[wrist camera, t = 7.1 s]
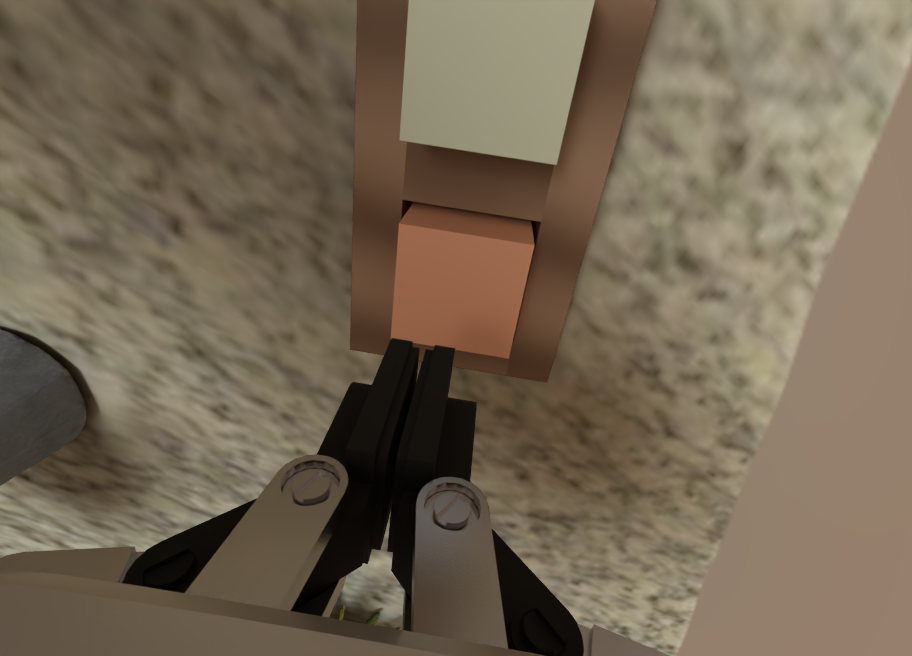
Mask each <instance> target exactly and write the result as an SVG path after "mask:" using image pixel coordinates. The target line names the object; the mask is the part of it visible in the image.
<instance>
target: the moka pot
mask: <svg viewBox="0 0 912 656" xmlns="http://www.w3.org/2000/svg"><path fill="white" fill-rule="evenodd" d="M86 418H87V413H86V406H85V402H84V398H83V396H82V395H81V393H80V391H79V389H78V386H77V385H76V383H75V381H74V380H73V379H72V377H71V374H70V373H69V372H68V370H67V369H66V368H63V366H62V365H61V364H60V363H59V362H57V361H56V360H55V359H53V358H52V357H51V356H50V355H49V354H48V353H46V352H44V351H43V350H41V349H40V348H38V347H37V346H35V345H32V344H30V343H29V342H27V341H25V340H24V339H22V338H20V337H18V336H17V335H15V334H12V333H10V332H7V331H4V330H0V486H1V485H2V484H4V483H5V482H7V481H9V480H10V479H12V478H13V477H15V476H16V475H18V474H20V473H21V472H23V471H24V470H26V469H28V468H29V467H31V466H33V465H34V464H36V463H37V462H39V461H41V460H42V459H44V458H46V457H47V456H49V455H50V454H52V453H53V452H55V451H57V450H58V449H60V448H61V447H63V446H65V445H66V444H68V443H69V442H71V441H73V440H74V439H76V438H77V437H78V436H79V435H80V433H81V432H82V430H83V428H84V427H85V424H86Z"/></svg>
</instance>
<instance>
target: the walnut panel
mask: <svg viewBox="0 0 912 656" xmlns="http://www.w3.org/2000/svg"><path fill="white" fill-rule="evenodd" d="M656 2H657V0H595V2H594V6H593V10H592V15H591V19H590V23H589V28H588V32H587V36H586V41H585V45H584V49H583V54H582V58H581V62H580V66H579V71H578V75H577V79H576V84H575V88H574V92H573V97H572V101H571V105H570V110H569V114H568V118H567V122H566V127H565V131H564V135H563V140H562V144H561V148H560V153H559V157H558V161H557V165H553V164H547V163H541V162H534V161H528V160H522V159H515V158H509V157H502V156H496V155H490V154H483V153H477V152H471V151H464V150H458V149H452V148H445V147H439V146H432V145H426V144H420V143H413V142H407V141H401V140H400V125H401V109H402V94H403V79H404V64H405V49H406V34H407V19H408V4H409V0H357V43H356V91H355V139H354V188H353V236H352V284H351V332H350V350H355V351H361V352H367V353H373V354H379V355H385V352H386V350H387V347H388V345H389V342H390V340H391V327H392V313H393V299H394V285H395V271H396V257H397V243H398V230H399V223H400V221H401V220H402V218H403V217H404V215H405V214H406V212H407V211H408V210H409V208H410V207H411V205H412V201H414V202H420V203H426V204H433V205H439V206H445V207H451V208H458V209H464V210H470V211H477V212H483V213H489V214H495V215H502V216H508V217H514V218H520V219H527V220H533V221H534V225H533V229H532V231H533V238H534V245H535V246H534V250H533V254H532V259H531V263H530V267H529V272H528V276H527V281H526V285H525V289H524V294H523V298H522V303H521V307H520V311H519V316H518V320H517V324H516V329H515V333H514V338H513V342H512V346H511V351H510V355H509V359H508V358H502V357H496V356H490V355H484V354H478V353H472V352H466V351H460V350H455V354H454V360H453V366H452V367H458V368H464V369H470V370H476V371H482V372H488V373H494V374H500V375H506V376H512V377H518V378H524V379H530V380H536V381H542V382H547V381H548V378H549V374H550V371H551V367H552V364H553V360H554V357H555V354H556V350H557V347H558V343H559V340H560V336H561V333H562V329H563V326H564V322H565V319H566V315H567V312H568V308H569V305H570V301H571V298H572V294H573V291H574V287H575V284H576V280H577V277H578V274H579V270H580V267H581V263H582V260H583V256H584V253H585V249H586V246H587V242H588V239H589V235H590V232H591V228H592V225H593V221H594V218H595V214H596V211H597V207H598V204H599V200H600V197H601V194H602V190H603V187H604V183H605V180H606V176H607V173H608V169H609V166H610V162H611V159H612V155H613V152H614V148H615V145H616V141H617V138H618V134H619V131H620V127H621V124H622V120H623V117H624V114H625V110H626V107H627V103H628V100H629V96H630V93H631V89H632V86H633V82H634V79H635V75H636V72H637V68H638V65H639V61H640V58H641V54H642V51H643V47H644V44H645V40H646V37H647V34H648V30H649V27H650V23H651V20H652V16H653V13H654V9H655V6H656ZM413 347H417V348H420V352H419V361H423V357H424V354H425V350H426V349H429V350H434V346H429V345H423V344H417V343H413Z"/></svg>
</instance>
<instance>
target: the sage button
mask: <svg viewBox="0 0 912 656" xmlns="http://www.w3.org/2000/svg"><path fill="white" fill-rule="evenodd" d="M594 2H595V0H409V4H408V19H407V34H406V49H405V64H404V79H403V94H402V109H401V125H400V140H401V141H407V142H413V143H420V144H426V145H432V146H439V147H445V148H452V149H458V150H464V151H471V152H477V153H483V154H490V155H496V156H502V157H509V158H515V159H522V160H528V161H534V162H541V163H547V164H553V165H557V161H558V157H559V153H560V148H561V144H562V140H563V135H564V131H565V127H566V122H567V118H568V114H569V110H570V105H571V101H572V97H573V92H574V88H575V84H576V79H577V75H578V71H579V66H580V62H581V58H582V54H583V49H584V45H585V41H586V36H587V32H588V28H589V23H590V19H591V15H592V10H593V6H594Z"/></svg>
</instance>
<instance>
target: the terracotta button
mask: <svg viewBox="0 0 912 656" xmlns="http://www.w3.org/2000/svg"><path fill="white" fill-rule="evenodd" d="M534 246H535V245H534V238H533V231H532V224H531V220H527V219H520V218H514V217H508V216H502V215H495V214H489V213H483V212H477V211H470V210H464V209H458V208H451V207H445V206H439V205H433V204H426V203H420V202H413V204H412V205H411V207H410V208H409V210H408V211H407V212H406V214H405V215H404V217H403V218H402V220H401V221H400V223H399V230H398V243H397V257H396V271H395V285H394V299H393V313H392V327H391V338H396V339H402V340H408V341H412V342H413V343H417V344H423V345H429V346H435V345H439V346H445V347H451V348H455V350H460V351H466V352H472V353H478V354H484V355H490V356H496V357H502V358H508V359H509V355H510V351H511V346H512V342H513V338H514V333H515V329H516V324H517V320H518V316H519V311H520V307H521V303H522V298H523V294H524V289H525V285H526V281H527V276H528V272H529V267H530V263H531V259H532V254H533V250H534Z"/></svg>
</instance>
